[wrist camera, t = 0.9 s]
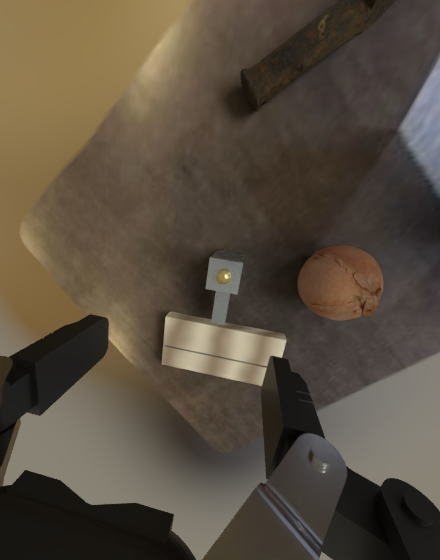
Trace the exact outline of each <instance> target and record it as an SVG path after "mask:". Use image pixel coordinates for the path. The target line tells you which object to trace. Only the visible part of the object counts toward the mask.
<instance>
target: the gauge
mask: <svg viewBox="0 0 440 560" xmlns="http://www.w3.org/2000/svg"><path fill="white" fill-rule="evenodd" d="M243 261H244V254H241V253H235V252H229V251H223V250H217V251H216V252H215V253H214V254H213V255H212V256H211V257H210V259H209V267H208V274H207V282H206V289H209V290H214V291H216V294H215V300H214V307H213V314H212V320H211V322H212V323H217V324H222V325H225V322H226V316H227V310H228V305H229V299H230V293H231V294H236V295H237V294H238V289H239V283H240V278H241V272H242V267H243Z"/></svg>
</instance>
